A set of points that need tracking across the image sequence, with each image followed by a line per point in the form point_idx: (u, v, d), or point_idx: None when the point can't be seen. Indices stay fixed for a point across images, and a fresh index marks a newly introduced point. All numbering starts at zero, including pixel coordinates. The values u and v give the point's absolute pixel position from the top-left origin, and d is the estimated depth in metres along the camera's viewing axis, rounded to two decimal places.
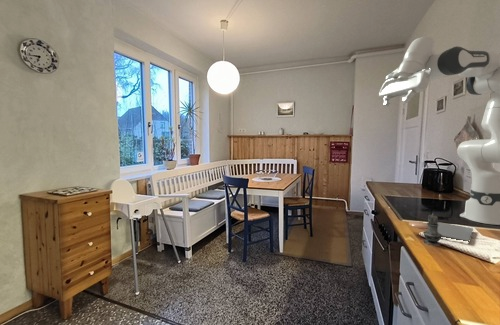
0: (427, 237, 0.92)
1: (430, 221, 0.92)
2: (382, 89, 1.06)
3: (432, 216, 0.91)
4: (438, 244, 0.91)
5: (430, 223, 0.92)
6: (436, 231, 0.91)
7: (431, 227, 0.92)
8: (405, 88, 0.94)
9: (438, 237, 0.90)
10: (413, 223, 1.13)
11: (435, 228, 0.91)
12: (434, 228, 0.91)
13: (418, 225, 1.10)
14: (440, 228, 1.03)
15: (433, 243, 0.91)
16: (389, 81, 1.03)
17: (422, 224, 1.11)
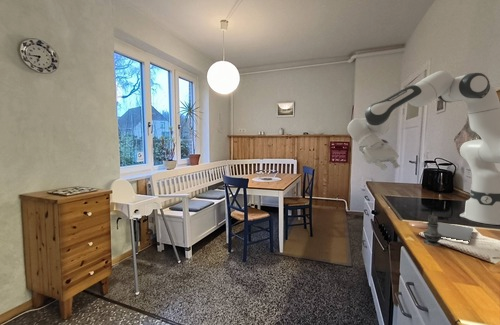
0: (427, 237, 0.92)
1: (430, 221, 0.92)
2: None
3: (432, 216, 0.91)
4: (438, 244, 0.91)
5: (430, 223, 0.92)
6: (436, 231, 0.91)
7: (431, 227, 0.92)
8: None
9: (438, 237, 0.90)
10: (413, 223, 1.13)
11: (435, 228, 0.91)
12: (434, 228, 0.91)
13: (418, 225, 1.10)
14: (440, 228, 1.03)
15: (433, 243, 0.91)
16: None
17: (422, 224, 1.11)
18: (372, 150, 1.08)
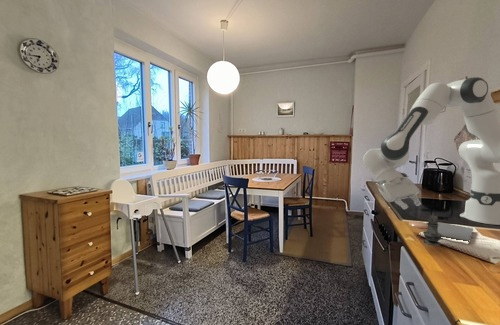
0: (427, 237, 0.92)
1: (430, 221, 0.92)
2: None
3: (432, 216, 0.91)
4: (438, 244, 0.91)
5: (430, 223, 0.92)
6: (436, 231, 0.91)
7: (431, 227, 0.92)
8: None
9: (438, 237, 0.90)
10: (413, 223, 1.13)
11: (435, 228, 0.91)
12: (434, 228, 0.91)
13: (418, 225, 1.10)
14: (440, 228, 1.03)
15: (433, 243, 0.91)
16: None
17: (422, 224, 1.11)
18: (391, 187, 1.00)
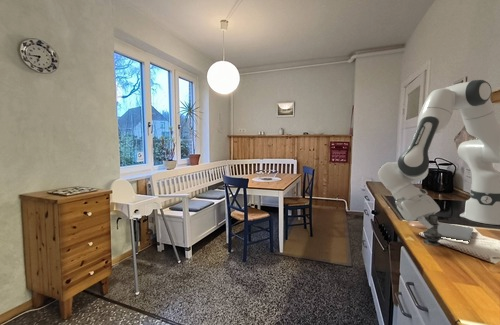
0: (427, 237, 0.92)
1: (430, 221, 0.92)
2: None
3: (432, 216, 0.91)
4: (438, 244, 0.91)
5: None
6: (436, 231, 0.91)
7: None
8: None
9: (438, 237, 0.90)
10: (413, 223, 1.13)
11: (435, 228, 0.91)
12: (434, 228, 0.91)
13: (418, 225, 1.10)
14: (440, 228, 1.03)
15: (433, 243, 0.91)
16: None
17: (422, 224, 1.11)
18: (411, 205, 0.94)
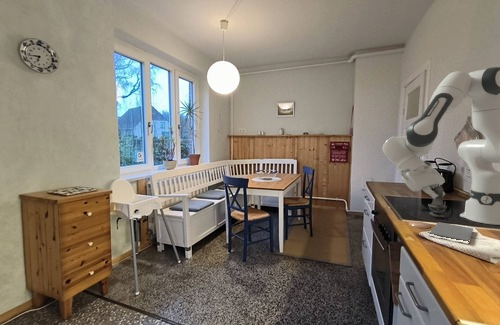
0: (432, 209, 0.93)
1: None
2: None
3: (437, 188, 0.92)
4: (443, 215, 0.92)
5: None
6: (441, 202, 0.92)
7: (436, 198, 0.92)
8: None
9: (443, 208, 0.91)
10: (413, 223, 1.13)
11: (440, 199, 0.92)
12: (439, 199, 0.92)
13: (418, 225, 1.10)
14: (440, 228, 1.03)
15: (438, 214, 0.92)
16: None
17: (422, 224, 1.11)
18: (416, 175, 0.94)
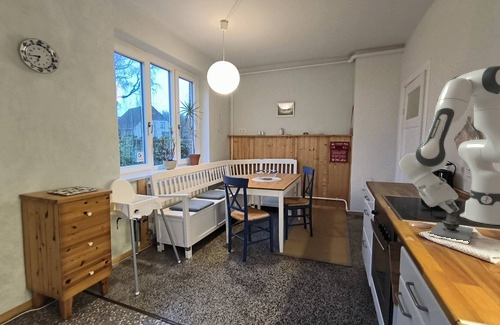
0: (446, 225, 1.00)
1: None
2: None
3: (451, 205, 1.00)
4: (457, 231, 0.99)
5: None
6: (455, 219, 0.99)
7: (450, 215, 1.00)
8: None
9: (457, 225, 0.98)
10: (413, 223, 1.13)
11: (454, 216, 0.99)
12: (453, 216, 0.99)
13: (418, 225, 1.10)
14: (440, 228, 1.03)
15: (452, 230, 1.00)
16: None
17: (422, 224, 1.11)
18: (432, 192, 1.01)
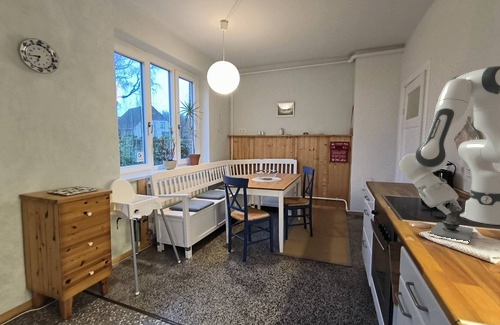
0: (446, 225, 1.00)
1: None
2: None
3: (451, 205, 0.99)
4: (457, 231, 0.99)
5: None
6: (455, 219, 0.99)
7: (450, 215, 1.00)
8: None
9: (457, 225, 0.98)
10: (413, 223, 1.13)
11: (454, 216, 0.99)
12: (453, 216, 0.99)
13: (418, 225, 1.10)
14: (440, 228, 1.03)
15: (452, 230, 1.00)
16: None
17: (422, 224, 1.11)
18: (433, 192, 1.01)
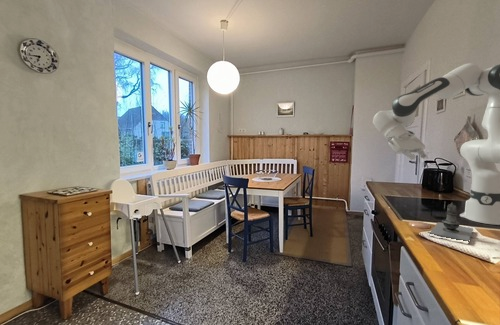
0: (446, 225, 1.00)
1: (449, 210, 1.00)
2: None
3: (451, 205, 1.00)
4: (457, 231, 0.99)
5: (449, 212, 1.00)
6: (455, 219, 0.99)
7: (450, 215, 1.00)
8: None
9: (457, 224, 0.98)
10: (413, 223, 1.13)
11: (454, 216, 0.99)
12: (453, 216, 0.99)
13: (418, 225, 1.10)
14: (440, 228, 1.03)
15: (452, 230, 1.00)
16: None
17: (422, 224, 1.11)
18: (400, 141, 1.10)
